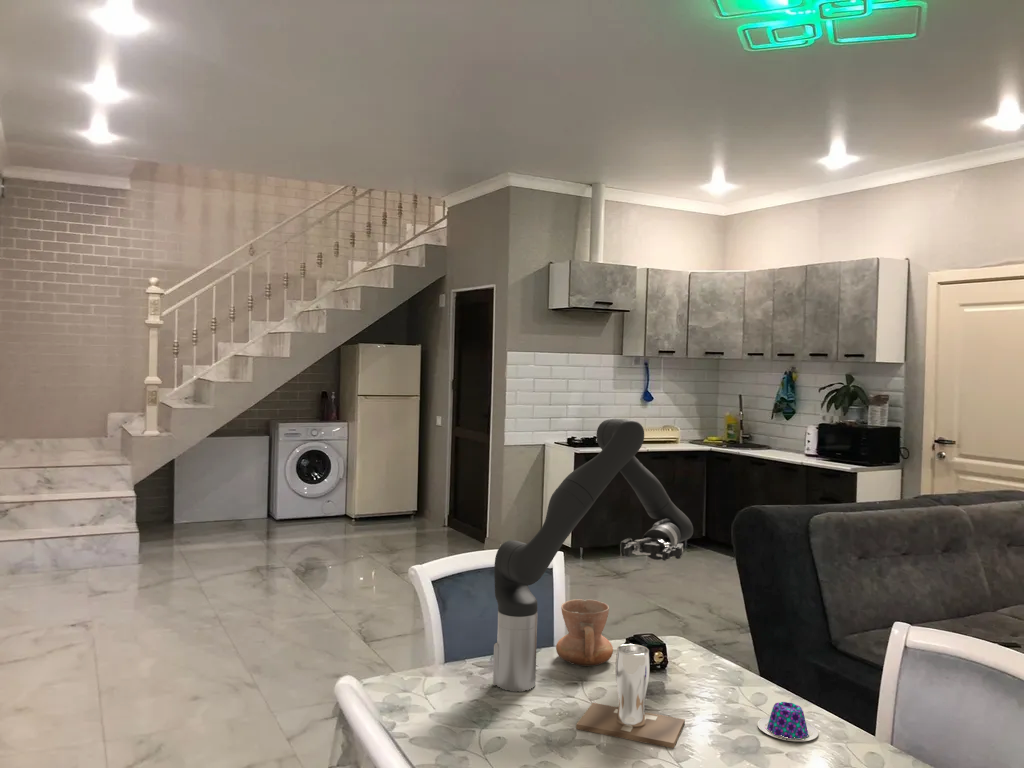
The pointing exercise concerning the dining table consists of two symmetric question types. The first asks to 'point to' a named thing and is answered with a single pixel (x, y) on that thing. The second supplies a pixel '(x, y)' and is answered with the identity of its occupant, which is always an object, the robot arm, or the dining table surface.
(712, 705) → the dining table surface
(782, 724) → the pudding
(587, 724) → the board
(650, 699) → the dining table surface
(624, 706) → the beer glass
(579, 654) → the ceramic jug
